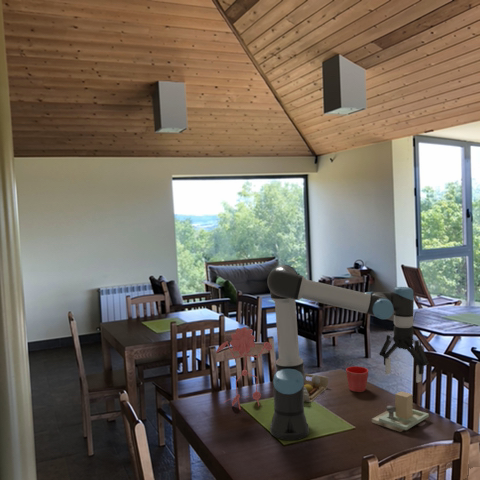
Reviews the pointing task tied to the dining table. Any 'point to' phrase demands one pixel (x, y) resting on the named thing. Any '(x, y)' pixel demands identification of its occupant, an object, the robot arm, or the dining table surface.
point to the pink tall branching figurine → (243, 344)
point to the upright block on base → (404, 412)
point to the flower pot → (357, 378)
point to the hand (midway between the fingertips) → (402, 377)
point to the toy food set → (314, 387)
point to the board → (376, 420)
